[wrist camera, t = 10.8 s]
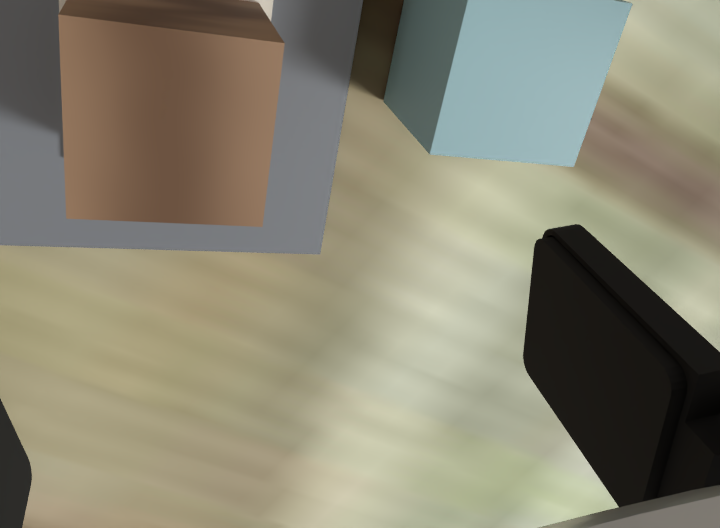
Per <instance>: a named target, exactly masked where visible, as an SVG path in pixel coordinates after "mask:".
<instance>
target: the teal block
mask: <svg viewBox="0 0 720 528" xmlns="http://www.w3.org/2000/svg"><path fill="white" fill-rule="evenodd" d="M631 6H632V3H629V2H626V1H623V0H404V3H403V8H402V13H401V18H400V22H399V27H398V32H397V37H396V42H395V47H394V52H393V57H392V62H391V67H390V72H389V77H388V82H387V86H386V91H385V96H384V103H385V104H386V105H387V106H388V107H389V108H390V109H391V111H392V112H393V113H394V114H395V115H396V116H397V117H398V119H399V120H400V121H401V122H402V123H403V124H404V125H405V127H406V128H407V129H408V130H409V131H410V132H411V133H412V135H413V136H414V137H415V138H416V139H417V140H418V141H419V143H420V144H421V145H422V146H423V147H424V148H425V149H426V151H427V152H428V153H429V154H432V155H443V156H455V157H466V158H478V159H489V160H501V161H512V162H524V163H536V164H547V165H559V166H570V167H574V164H575V162H576V159H577V156H578V153H579V150H580V148H581V145H582V142H583V139H584V137H585V134H586V131H587V128H588V125H589V123H590V120H591V117H592V114H593V112H594V109H595V106H596V103H597V101H598V98H599V95H600V92H601V89H602V87H603V84H604V81H605V78H606V76H607V73H608V70H609V67H610V64H611V62H612V59H613V56H614V53H615V51H616V48H617V45H618V42H619V40H620V37H621V34H622V31H623V28H624V26H625V23H626V20H627V17H628V15H629V12H630V9H631Z"/></svg>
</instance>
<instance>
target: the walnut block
mask: <svg viewBox="0 0 720 528" xmlns="http://www.w3.org/2000/svg"><path fill="white" fill-rule="evenodd" d="M58 18H59V44H60V70H61V96H62V121H63V147H64V173H65V199H66V219H85V220H109V221H133V222H156V223H180V224H204V225H228V226H251V227H263V219H264V210H265V202H266V194H267V186H268V177H269V169H270V161H271V152H272V144H273V136H274V128H275V119H276V111H277V103H278V94H279V86H280V78H281V70H282V61H283V53H284V45H285V43H284V41H283V40H282V38H281V37H280V35H279V34H278V32H277V30H276V29H275V27H274V26H273V24H272V23H271V21H270V19H269V18H268V16H267V15H266V13H265V12H264V10H263V9H262V7H261V5H260V4H259V3H257V2H250V1H243V0H66V2H65V4H64V6H63V7H62V9H61V11H60V13H59V14H58Z"/></svg>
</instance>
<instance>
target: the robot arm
mask: <svg viewBox="0 0 720 528" xmlns="http://www.w3.org/2000/svg"><path fill="white" fill-rule="evenodd" d="M523 359H524V365H525V368H526V371H527V373H528V375H529V376H530V378H531V379H532V381H533V382H534V384H535V385H536V386H537V388H538V389H539V391H540V392H541V394H542V395H543V397H544V398H545V400H546V401H547V403H548V404H549V405H550V407H551V408H552V410H553V411H554V413H555V414H556V416H557V417H558V419H559V420H560V421H561V423H562V424H563V426H564V427H565V429H566V430H567V432H568V433H569V435H570V436H571V438H572V439H573V440H574V442H575V443H576V445H577V446H578V448H579V449H580V451H581V452H582V454H583V455H584V457H585V458H586V459H587V461H588V462H589V464H590V465H591V467H592V468H593V470H594V471H595V473H596V474H597V475H598V477H599V478H600V480H601V481H602V483H603V484H604V486H605V487H606V489H607V490H608V492H609V493H610V494H611V496H612V497H613V499H614V500H615V502H616V503H617V505H618V506H619V508H615V509H610V510H606V511H602V512H598V513H594V514H590V515H586V516H582V517H578V518H574V519H571V520H567V521H563V522H559V523H555V524H551V525H547V526H543V527H539V528H720V352H719V351H718V350H717V349H716V348H715V347H713V346H712V345H711V344H710V343H709V342H708V341H707V340H706V339H705V338H704V337H703V336H701V335H700V334H699V333H698V332H697V331H696V330H695V329H694V328H693V327H692V326H691V325H689V324H688V323H687V322H686V321H685V320H684V319H683V318H682V317H681V316H680V315H679V314H677V313H676V312H675V311H674V310H673V309H672V308H671V307H670V306H669V305H668V304H667V303H665V302H664V301H663V300H662V299H661V298H660V297H659V296H658V295H657V294H656V293H655V292H653V291H652V290H651V289H650V288H649V287H648V286H647V285H646V284H645V283H644V282H643V281H641V280H640V279H639V278H638V277H637V276H636V275H635V274H634V273H633V272H632V271H631V270H629V269H628V268H627V267H626V266H625V265H624V264H623V263H622V262H621V261H620V260H619V259H617V258H616V257H615V256H614V255H613V254H612V253H611V252H610V251H609V250H608V249H607V248H605V247H604V246H603V245H602V244H601V243H600V242H599V241H598V240H597V239H596V238H595V237H593V236H592V235H591V234H590V233H589V232H588V231H587V230H586V229H585V228H584V227H582V226H581V225H577V224H575V225H570V226H564V227H558V228H553V229H548V230H546V231H545V233H544V235H543V238H542V239H538V240H537V241H536V243H535V247H534V256H533V265H532V275H531V285H530V294H529V304H528V314H527V323H526V333H525V343H524V352H523ZM31 480H32V473H31V466H30V462H29V459H28V457H27V455H26V453H25V451H24V448H23V446H22V444H21V442H20V440H19V438H18V436H17V433H16V431H15V429H14V427H13V425H12V423H11V421H10V419H9V416H8V414H7V412H6V410H5V408H4V406H3V404H2V401H1V399H0V528H22V525H23V520H24V515H25V510H26V506H27V501H28V496H29V491H30V486H31Z"/></svg>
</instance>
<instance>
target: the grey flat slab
mask: <svg viewBox="0 0 720 528" xmlns="http://www.w3.org/2000/svg"><path fill="white" fill-rule="evenodd" d="M243 1H250V2H257V3H259V4H260V5H261V7H262V9H263V10H264V12H265V13H266V15H267V16H268V18H269V19H270V21H271V23H272V24H273V26H274V27H275V29H276V30H277V32H278V34H279V35H280V37H281V38H282V40H283V41H284V43H285V45H284V53H283V61H282V70H281V78H280V86H279V94H278V103H277V111H276V119H275V128H274V136H273V144H272V152H271V161H270V169H269V177H268V186H267V194H266V202H265V210H264V219H263V227H251V226H228V225H204V224H180V223H156V222H133V221H109V220H85V219H66V199H65V173H64V147H63V121H62V96H61V70H60V44H59V18H58V14H59V13H60V11H61V9H62V7H63V6H64V4H65V2H66V0H0V245H15V246H50V247H84V248H119V249H153V250H188V251H222V252H257V253H291V254H320V252H321V246H322V240H323V234H324V228H325V222H326V216H327V210H328V205H329V199H330V193H331V187H332V181H333V175H334V169H335V163H336V157H337V152H338V146H339V140H340V134H341V128H342V122H343V116H344V110H345V104H346V98H347V93H348V87H349V81H350V75H351V69H352V63H353V57H354V51H355V45H356V40H357V34H358V28H359V22H360V16H361V10H362V4H363V0H243Z"/></svg>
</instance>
